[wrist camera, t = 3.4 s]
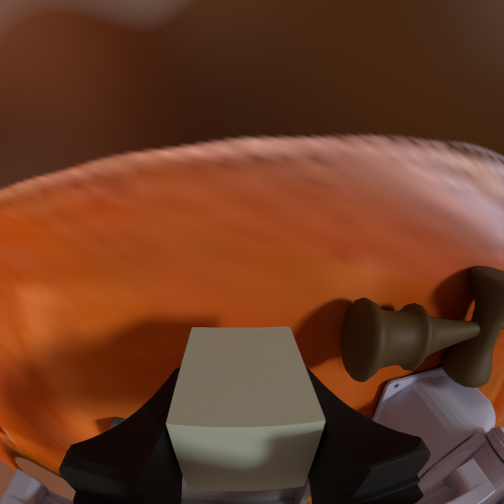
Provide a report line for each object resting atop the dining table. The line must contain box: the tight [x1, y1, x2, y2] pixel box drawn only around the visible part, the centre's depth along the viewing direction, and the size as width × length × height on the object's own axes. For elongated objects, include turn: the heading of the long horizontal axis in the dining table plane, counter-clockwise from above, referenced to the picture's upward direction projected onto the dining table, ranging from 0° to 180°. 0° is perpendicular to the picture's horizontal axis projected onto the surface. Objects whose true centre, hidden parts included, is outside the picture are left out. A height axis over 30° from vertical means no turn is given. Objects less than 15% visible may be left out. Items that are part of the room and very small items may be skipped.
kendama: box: [341, 266, 504, 388], centre depth 16 cm, size 6×10×20 cm
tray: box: [109, 417, 311, 504], centre depth 19 cm, size 18×16×3 cm
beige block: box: [166, 327, 326, 491], centre depth 10 cm, size 4×4×6 cm
